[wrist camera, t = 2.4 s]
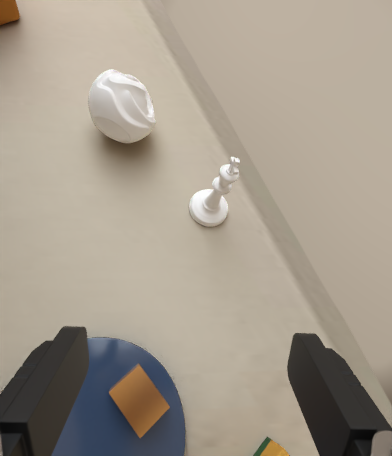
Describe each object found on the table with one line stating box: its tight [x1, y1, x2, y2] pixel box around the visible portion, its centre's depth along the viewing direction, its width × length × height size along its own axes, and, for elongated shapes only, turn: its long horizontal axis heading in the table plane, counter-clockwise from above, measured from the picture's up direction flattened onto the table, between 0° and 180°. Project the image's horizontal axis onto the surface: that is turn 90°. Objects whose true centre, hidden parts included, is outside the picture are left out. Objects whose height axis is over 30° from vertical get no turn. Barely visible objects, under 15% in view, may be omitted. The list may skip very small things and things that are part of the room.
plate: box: [51, 337, 185, 456], centre depth 22 cm, size 16×16×1 cm
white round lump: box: [88, 69, 156, 143], centre depth 31 cm, size 8×8×8 cm
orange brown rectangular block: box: [109, 363, 170, 438], centre depth 22 cm, size 4×3×2 cm
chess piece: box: [189, 157, 240, 227], centre depth 29 cm, size 5×5×10 cm
